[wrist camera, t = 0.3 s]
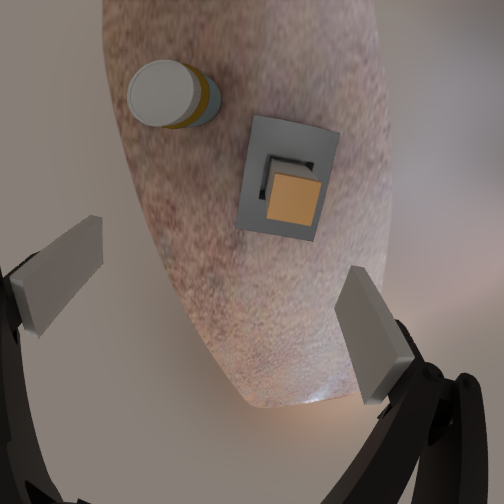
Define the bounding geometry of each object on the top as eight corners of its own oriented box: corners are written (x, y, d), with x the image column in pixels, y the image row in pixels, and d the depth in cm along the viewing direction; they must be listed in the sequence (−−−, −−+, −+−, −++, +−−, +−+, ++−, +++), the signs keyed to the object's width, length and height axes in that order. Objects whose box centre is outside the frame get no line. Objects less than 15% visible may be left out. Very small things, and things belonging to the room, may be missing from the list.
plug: (270, 155, 36) (275, 173, 25) (302, 161, 37) (321, 182, 25) (264, 185, 38) (266, 218, 27) (295, 191, 38) (310, 226, 27)
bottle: (206, 134, 36) (174, 144, 23) (162, 112, 35) (110, 113, 21) (232, 90, 34) (214, 73, 20) (186, 68, 32) (145, 44, 19)
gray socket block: (254, 115, 35) (253, 114, 30) (329, 130, 36) (339, 132, 31) (238, 214, 41) (234, 228, 36) (307, 226, 42) (313, 241, 37)
